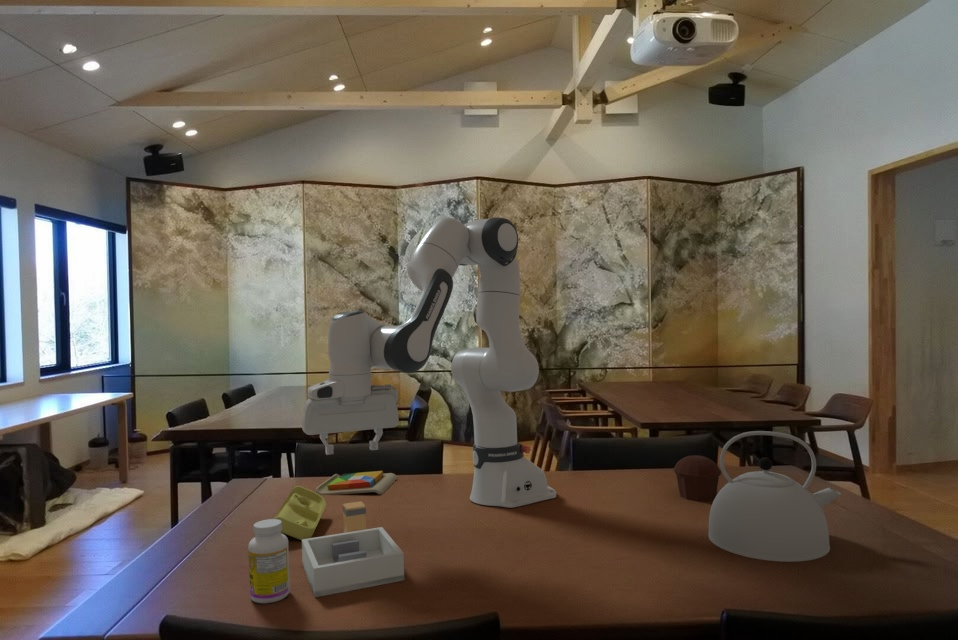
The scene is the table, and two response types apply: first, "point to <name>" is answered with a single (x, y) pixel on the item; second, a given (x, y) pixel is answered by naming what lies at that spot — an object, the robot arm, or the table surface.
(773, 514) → the kettle
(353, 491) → the wooden puzzle
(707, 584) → the table surface
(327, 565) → the walled box
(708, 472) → the muffin
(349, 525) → the tan tall block
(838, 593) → the table surface
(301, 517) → the plastic component
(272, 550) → the supplement bottle
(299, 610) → the table surface
